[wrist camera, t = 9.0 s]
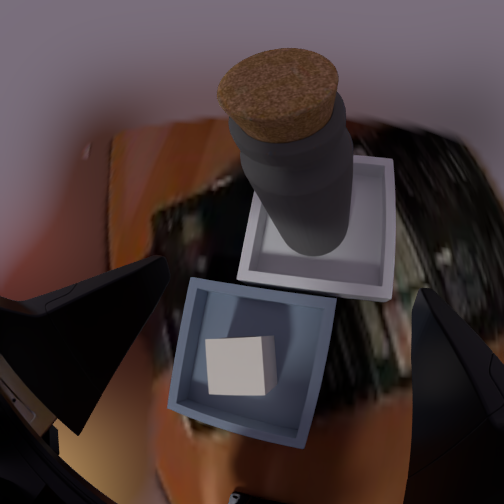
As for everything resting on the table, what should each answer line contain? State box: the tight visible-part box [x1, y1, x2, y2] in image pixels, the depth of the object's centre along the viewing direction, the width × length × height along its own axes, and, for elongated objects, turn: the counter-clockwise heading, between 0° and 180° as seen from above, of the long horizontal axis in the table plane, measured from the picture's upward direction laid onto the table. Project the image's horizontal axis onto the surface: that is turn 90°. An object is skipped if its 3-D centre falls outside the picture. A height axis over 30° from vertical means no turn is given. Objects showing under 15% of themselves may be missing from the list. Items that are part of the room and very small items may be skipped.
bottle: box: [217, 48, 353, 257], centre depth 15 cm, size 6×6×15 cm
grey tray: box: [237, 155, 396, 302], centre depth 21 cm, size 12×12×2 cm
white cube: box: [205, 335, 277, 395], centre depth 19 cm, size 4×4×4 cm
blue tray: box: [167, 277, 337, 449], centre depth 20 cm, size 12×12×2 cm
